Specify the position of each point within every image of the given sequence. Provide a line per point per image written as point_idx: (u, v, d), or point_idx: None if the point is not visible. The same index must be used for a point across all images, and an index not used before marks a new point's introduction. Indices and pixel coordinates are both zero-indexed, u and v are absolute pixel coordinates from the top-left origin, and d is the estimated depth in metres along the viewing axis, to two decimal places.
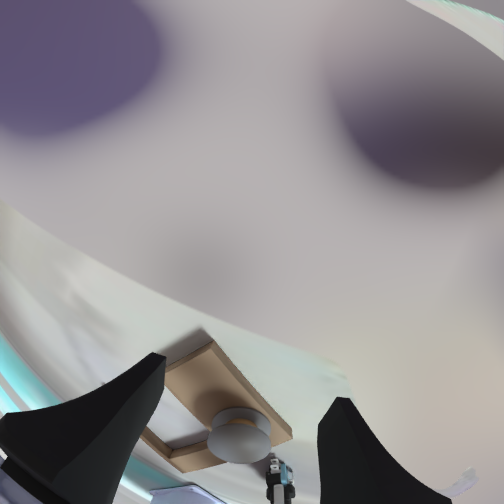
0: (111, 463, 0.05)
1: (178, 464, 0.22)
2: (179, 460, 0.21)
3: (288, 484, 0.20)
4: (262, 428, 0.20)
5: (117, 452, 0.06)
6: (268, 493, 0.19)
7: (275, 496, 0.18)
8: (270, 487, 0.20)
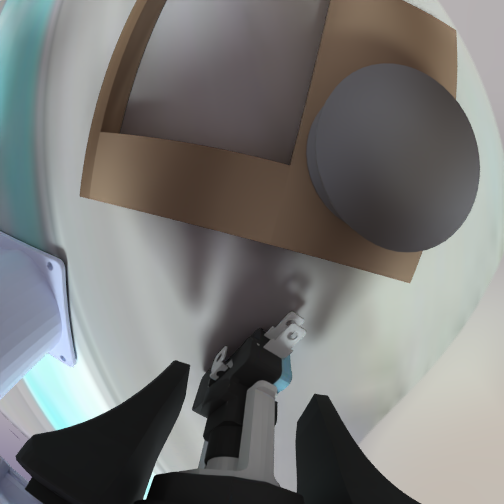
0: (140, 476, 0.05)
1: (100, 160, 0.09)
2: (117, 148, 0.09)
3: None
4: None
5: (146, 464, 0.06)
6: (225, 394, 0.09)
7: (257, 413, 0.08)
8: (236, 381, 0.10)
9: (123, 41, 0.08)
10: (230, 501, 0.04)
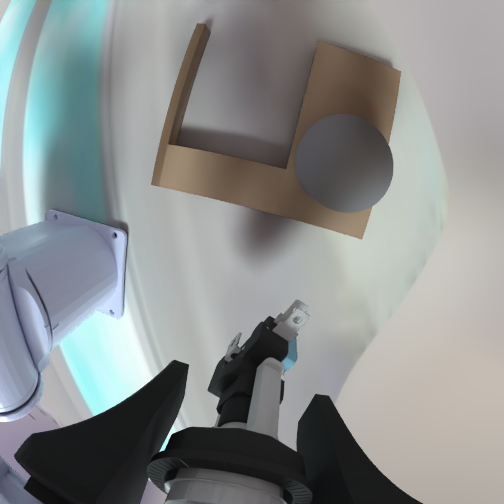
0: (139, 475, 0.05)
1: (168, 162, 0.16)
2: (180, 155, 0.16)
3: None
4: None
5: (144, 464, 0.06)
6: (238, 369, 0.11)
7: (265, 384, 0.10)
8: (248, 359, 0.11)
9: (180, 84, 0.14)
10: (237, 448, 0.06)
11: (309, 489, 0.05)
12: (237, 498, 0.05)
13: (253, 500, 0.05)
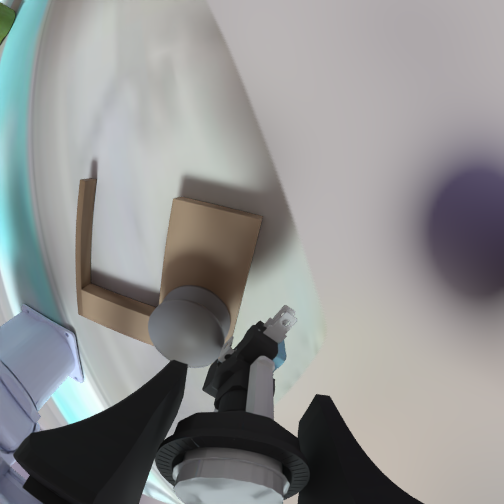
0: (138, 475, 0.05)
1: (84, 302, 0.20)
2: (90, 299, 0.20)
3: None
4: None
5: (143, 463, 0.06)
6: (233, 367, 0.12)
7: (259, 378, 0.11)
8: (242, 358, 0.13)
9: (78, 242, 0.18)
10: (242, 427, 0.07)
11: (307, 466, 0.06)
12: (245, 473, 0.06)
13: (259, 475, 0.06)
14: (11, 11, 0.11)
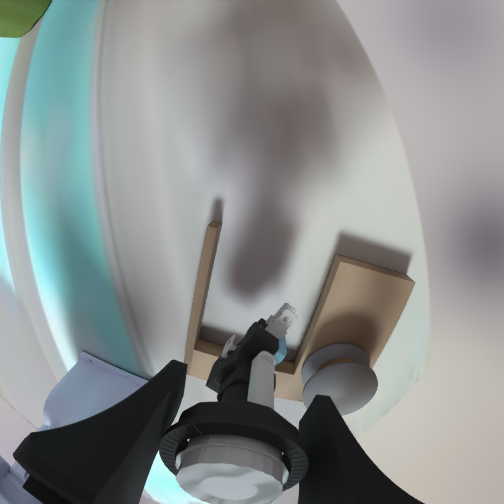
0: (138, 475, 0.05)
1: (196, 362, 0.19)
2: (206, 359, 0.19)
3: None
4: None
5: (143, 463, 0.06)
6: (236, 361, 0.12)
7: (260, 371, 0.11)
8: (244, 353, 0.13)
9: (198, 300, 0.17)
10: (243, 414, 0.07)
11: (305, 454, 0.07)
12: (245, 459, 0.06)
13: (259, 461, 0.06)
14: None
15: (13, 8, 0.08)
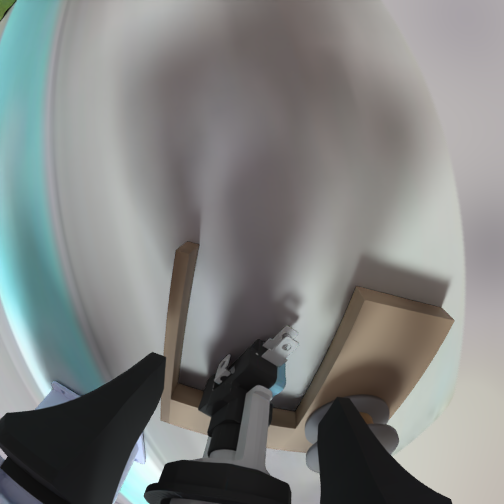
0: (111, 463, 0.05)
1: (174, 411, 0.14)
2: (187, 410, 0.14)
3: None
4: None
5: (117, 452, 0.06)
6: (227, 396, 0.10)
7: (253, 413, 0.09)
8: (237, 385, 0.11)
9: (170, 346, 0.12)
10: (227, 483, 0.06)
11: None
12: None
13: None
14: None
15: None
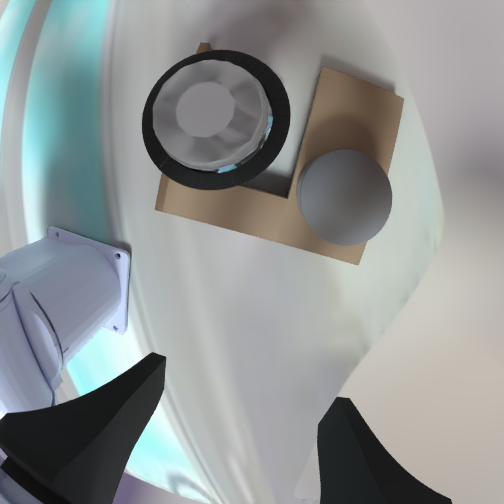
0: (111, 463, 0.05)
1: (172, 188, 0.17)
2: None
3: None
4: None
5: (117, 452, 0.06)
6: None
7: None
8: None
9: None
10: None
11: (284, 88, 0.08)
12: None
13: None
14: None
15: None
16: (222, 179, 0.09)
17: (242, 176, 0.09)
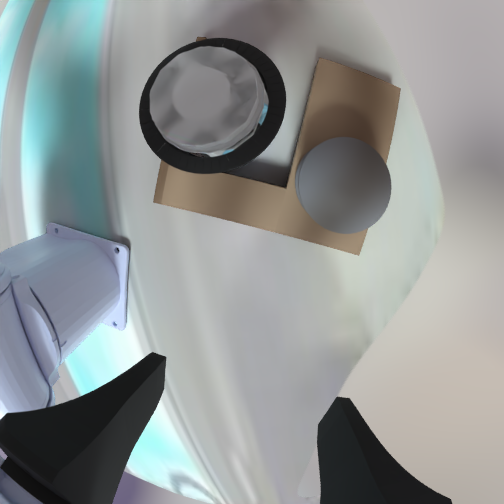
0: (111, 463, 0.05)
1: (170, 180, 0.16)
2: (182, 173, 0.16)
3: None
4: None
5: (117, 452, 0.06)
6: None
7: None
8: None
9: None
10: None
11: (279, 73, 0.08)
12: None
13: None
14: None
15: None
16: (219, 162, 0.09)
17: (239, 159, 0.09)
